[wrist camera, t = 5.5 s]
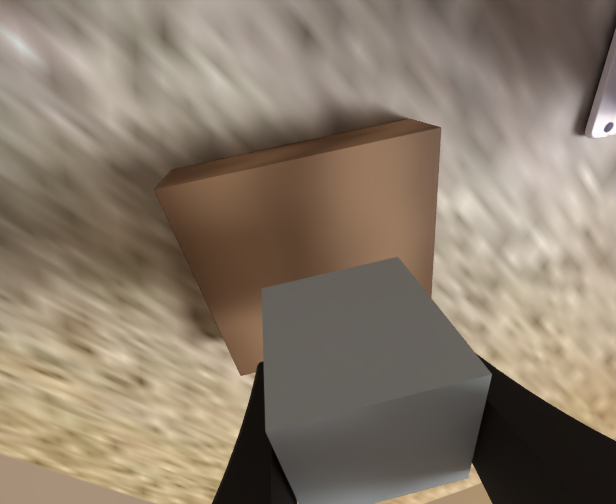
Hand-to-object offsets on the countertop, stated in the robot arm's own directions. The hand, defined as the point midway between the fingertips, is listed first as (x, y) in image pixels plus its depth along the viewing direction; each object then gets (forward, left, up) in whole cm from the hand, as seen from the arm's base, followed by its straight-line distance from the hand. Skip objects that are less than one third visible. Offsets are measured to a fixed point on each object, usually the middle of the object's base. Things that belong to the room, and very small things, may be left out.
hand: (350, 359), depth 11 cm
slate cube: (0, 0, -2) cm, 2 cm away
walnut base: (0, 0, -8) cm, 8 cm away
